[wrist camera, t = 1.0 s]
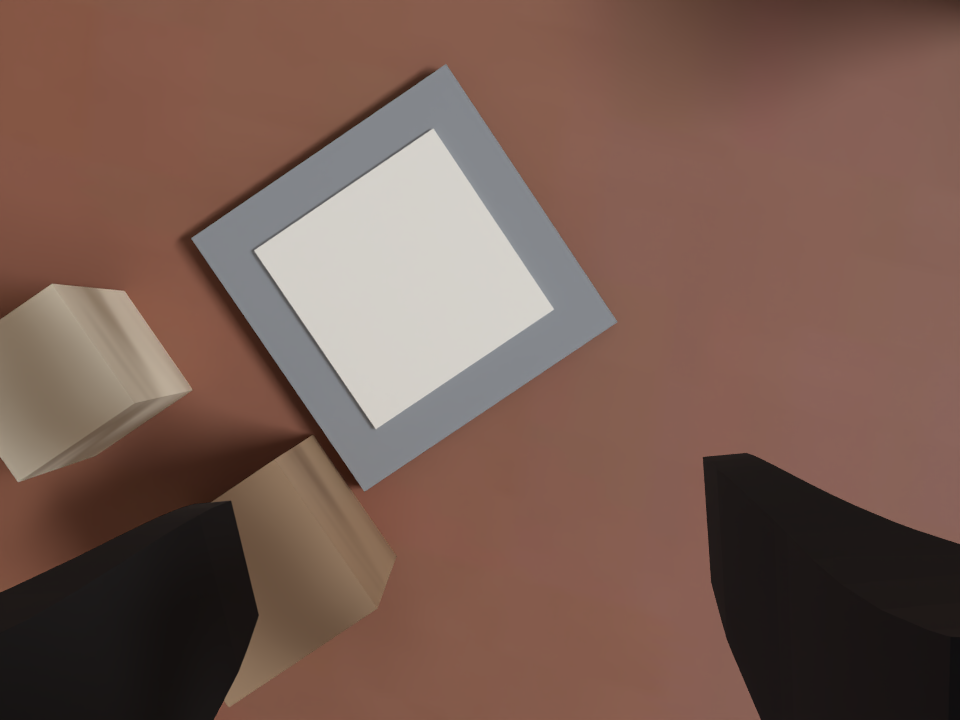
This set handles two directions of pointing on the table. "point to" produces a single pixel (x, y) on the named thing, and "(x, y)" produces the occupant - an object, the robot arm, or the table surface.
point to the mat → (404, 278)
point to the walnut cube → (303, 560)
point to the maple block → (77, 377)
